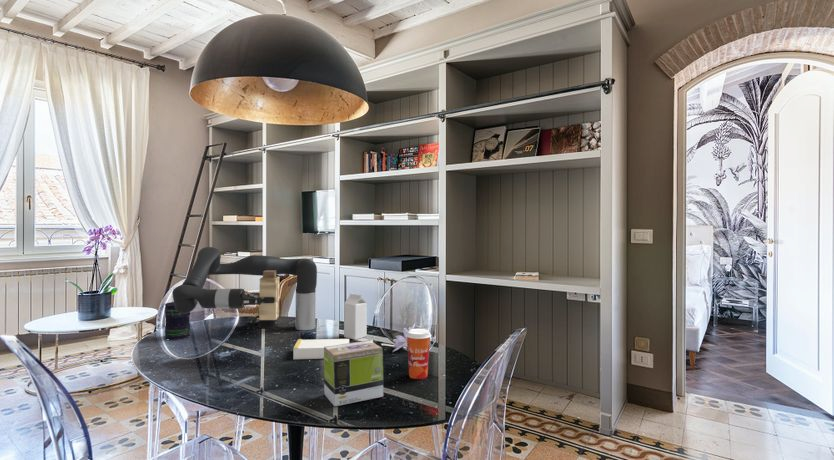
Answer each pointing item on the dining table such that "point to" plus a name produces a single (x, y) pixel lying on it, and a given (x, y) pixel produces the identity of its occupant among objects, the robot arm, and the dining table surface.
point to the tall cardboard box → (269, 289)
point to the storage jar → (176, 323)
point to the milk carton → (355, 317)
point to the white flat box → (314, 348)
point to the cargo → (269, 274)
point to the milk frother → (265, 322)
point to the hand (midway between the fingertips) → (276, 298)
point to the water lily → (402, 339)
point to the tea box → (353, 372)
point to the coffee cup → (418, 352)
